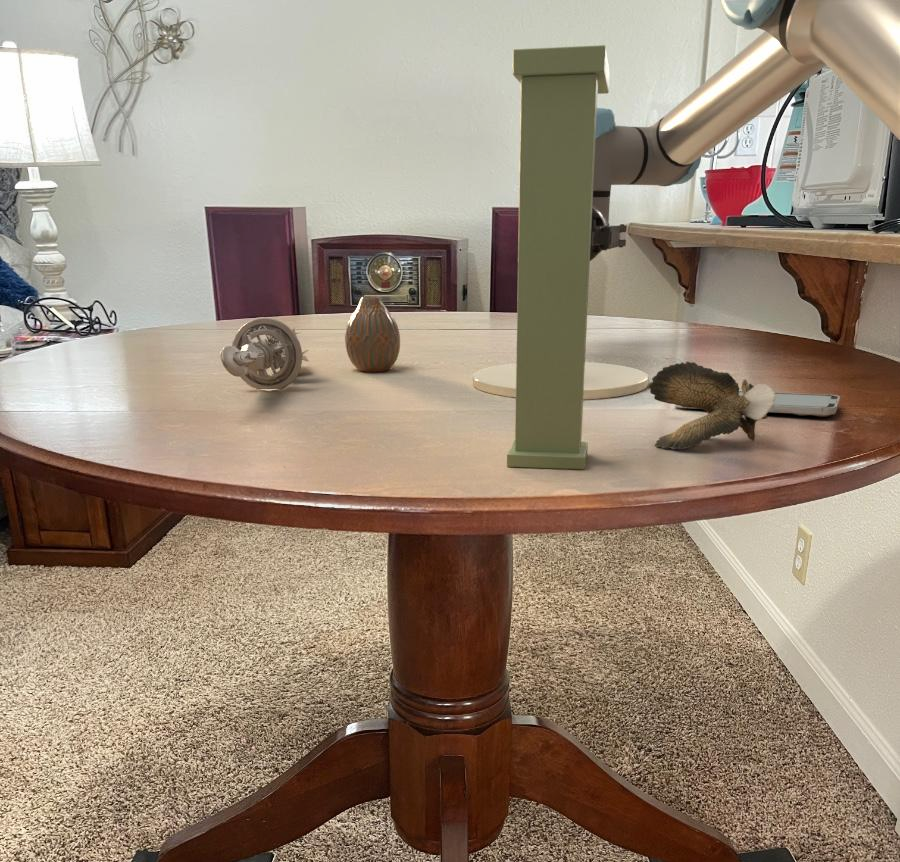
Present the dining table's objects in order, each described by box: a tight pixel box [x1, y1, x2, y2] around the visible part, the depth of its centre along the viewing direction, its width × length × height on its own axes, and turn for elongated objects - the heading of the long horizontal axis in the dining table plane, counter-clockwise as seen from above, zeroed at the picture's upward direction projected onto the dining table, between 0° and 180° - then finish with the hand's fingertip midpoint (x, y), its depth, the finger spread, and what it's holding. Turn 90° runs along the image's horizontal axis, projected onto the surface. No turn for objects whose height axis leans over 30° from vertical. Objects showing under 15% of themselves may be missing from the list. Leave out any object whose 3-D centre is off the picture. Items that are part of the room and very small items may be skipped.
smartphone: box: [673, 390, 841, 418], centre depth 88 cm, size 7×1×15 cm
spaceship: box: [219, 317, 310, 390], centre depth 99 cm, size 8×35×8 cm
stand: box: [506, 44, 611, 470], centre depth 69 cm, size 12×6×28 cm, turn 169°
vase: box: [344, 295, 401, 373], centre depth 111 cm, size 7×7×9 cm
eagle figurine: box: [647, 361, 776, 450], centre depth 74 cm, size 8×7×9 cm
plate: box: [472, 361, 650, 401], centre depth 102 cm, size 20×20×1 cm
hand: (566, 240), depth 98 cm, fingers closed on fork, 2 cm apart
